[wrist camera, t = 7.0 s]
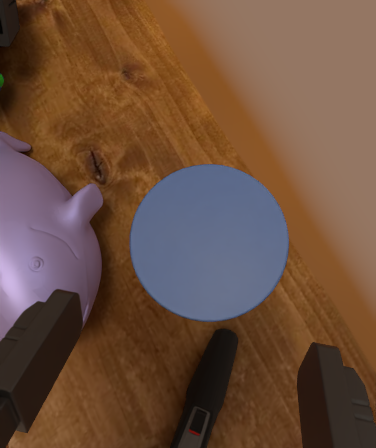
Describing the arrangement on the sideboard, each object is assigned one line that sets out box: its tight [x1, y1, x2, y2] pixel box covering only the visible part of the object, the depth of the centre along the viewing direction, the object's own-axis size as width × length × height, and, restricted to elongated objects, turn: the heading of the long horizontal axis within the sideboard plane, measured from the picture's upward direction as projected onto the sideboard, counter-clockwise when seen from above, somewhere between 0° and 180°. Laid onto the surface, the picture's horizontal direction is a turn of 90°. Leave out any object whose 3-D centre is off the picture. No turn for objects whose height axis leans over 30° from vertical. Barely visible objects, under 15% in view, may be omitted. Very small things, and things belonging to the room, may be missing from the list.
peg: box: [130, 164, 289, 322], centre depth 18 cm, size 6×6×10 cm
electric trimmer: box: [170, 329, 238, 448], centre depth 31 cm, size 4×16×3 cm, turn 159°
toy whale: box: [0, 131, 103, 341], centre depth 30 cm, size 14×25×16 cm, turn 28°
